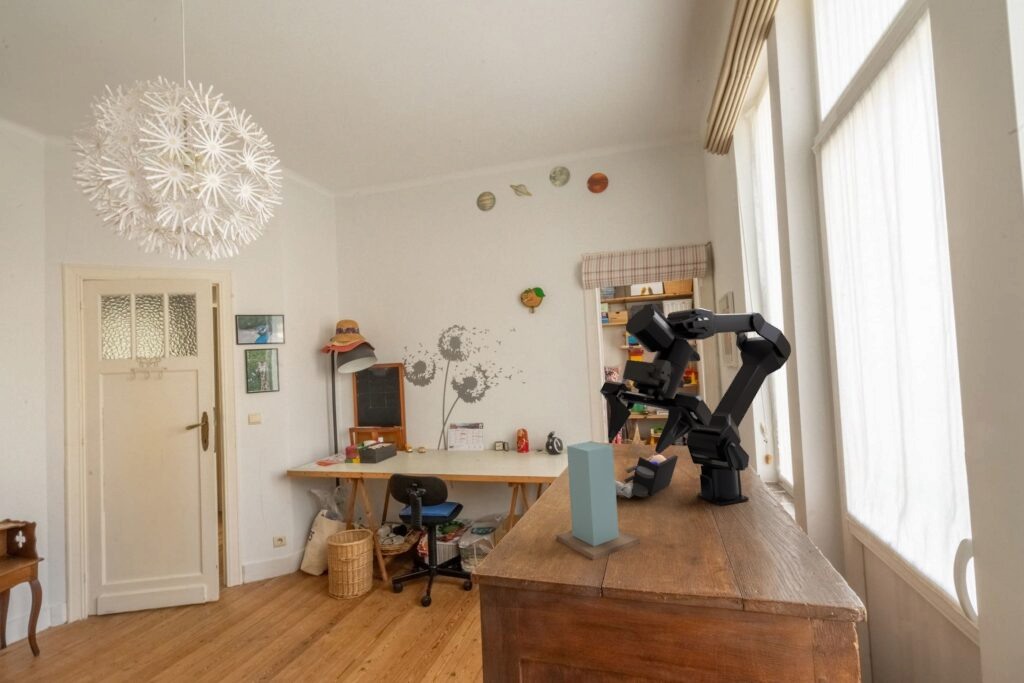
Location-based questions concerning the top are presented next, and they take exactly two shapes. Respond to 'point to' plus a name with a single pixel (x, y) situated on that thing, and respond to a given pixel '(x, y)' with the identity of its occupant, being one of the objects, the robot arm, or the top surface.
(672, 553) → the top surface
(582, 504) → the pillar
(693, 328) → the robot arm
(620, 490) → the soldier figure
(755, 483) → the top surface
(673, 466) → the character figurine
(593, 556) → the base tile
